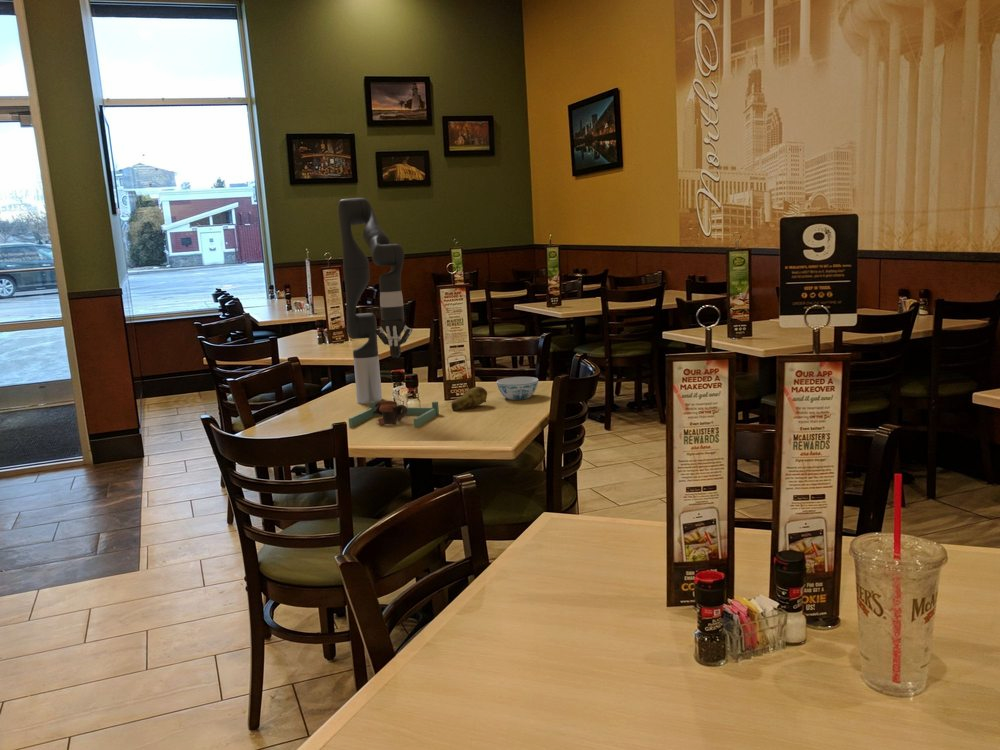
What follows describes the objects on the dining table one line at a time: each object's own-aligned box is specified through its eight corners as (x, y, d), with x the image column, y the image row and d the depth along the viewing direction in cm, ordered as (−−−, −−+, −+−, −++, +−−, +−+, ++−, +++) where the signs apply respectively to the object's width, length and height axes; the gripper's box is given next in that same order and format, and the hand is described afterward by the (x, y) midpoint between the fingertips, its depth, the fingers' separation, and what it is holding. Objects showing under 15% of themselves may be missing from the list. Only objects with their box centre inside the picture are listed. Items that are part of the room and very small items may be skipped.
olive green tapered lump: (450, 409, 292) (448, 387, 291) (486, 406, 294) (485, 384, 293) (452, 414, 284) (450, 391, 283) (489, 411, 286) (488, 388, 285)
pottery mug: (369, 427, 271) (367, 403, 274) (382, 433, 280) (379, 410, 282) (403, 419, 268) (401, 395, 271) (415, 425, 277) (412, 402, 280)
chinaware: (543, 397, 306) (542, 376, 304) (534, 405, 291) (533, 383, 290) (503, 397, 309) (502, 377, 308) (493, 405, 295) (491, 384, 294)
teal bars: (372, 415, 290) (371, 401, 289) (439, 416, 282) (438, 401, 281) (348, 427, 272) (347, 412, 272) (418, 428, 265) (417, 412, 264)
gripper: (414, 303, 277) (418, 355, 280) (378, 304, 281) (382, 355, 284) (405, 305, 270) (409, 358, 273) (368, 306, 274) (372, 359, 277)
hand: (395, 357), depth 279 cm, fingers closed
